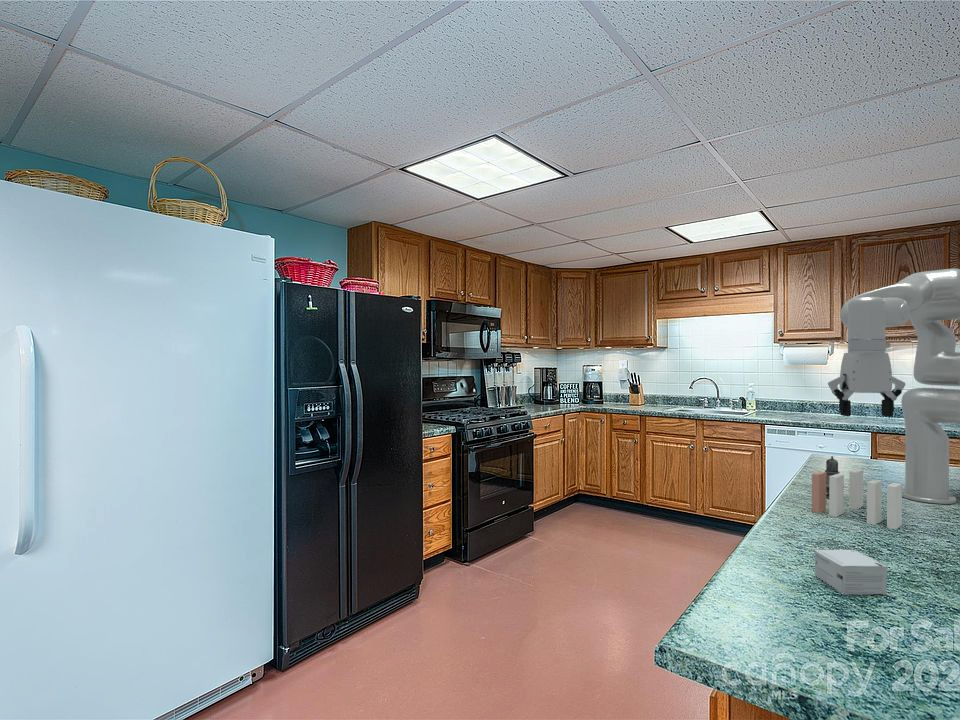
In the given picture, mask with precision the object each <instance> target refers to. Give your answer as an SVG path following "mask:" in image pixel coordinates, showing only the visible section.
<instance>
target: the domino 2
mask: <svg viewBox="0 0 960 720" xmlns="http://www.w3.org/2000/svg"><path fill="white" fill-rule="evenodd" d="M848 489H849V491H848V492H849V506H848V508H850V510H853V509H855V510H854V511H857V509H858V510H860V509H862V508H863V507H864V469H859V468H858V469H857V468H855V469H853V470H850V471H849V488H848ZM862 506H863V507H862ZM861 507H862V508H861ZM859 508H860V509H859Z"/></svg>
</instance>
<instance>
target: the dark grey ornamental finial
mask: <svg viewBox="0 0 960 720" xmlns="http://www.w3.org/2000/svg"><path fill="white" fill-rule="evenodd" d="M838 461H839V460H837V459H835V458H834V456H833V455H832V456H830V458H828V459H827V460H826V462H825V468H826V469H825V470H824V472H826V499H827V498H829V476H832V475H835V474H840V473H841V472H840V471H839V462H838Z"/></svg>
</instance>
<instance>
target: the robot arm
mask: <svg viewBox="0 0 960 720" xmlns="http://www.w3.org/2000/svg"><path fill="white" fill-rule="evenodd" d="M839 318H840V321H841V323H842V325H843V326H845V327H846V328H847V352H844V353H843V354H842V359H841V365H840V370H839V371H840V372H839V376H838V377H836V378H834V379H832V380H830V381H828V382H827V385H828V387H829V390H831V393H832V394H833V395H834V396H835V397H836V399H837V400H838V401H839V403H838V407H839V408H838V409H839V415H840V416H843V417H851V414H852V412H851V411H852V409H851V407H852V406H851V404H852V402H851V400H849V398H851V396H852V395H853V394H855V393H856V394H859V393H860V394H861V393H863V394H867V393H868V394H880V395H881V396H882V399H881V416H882V417H883V416H884V417H889V418H893V416H894V412H895V401H896V400H897V398H898V397H899V396H900V395H901V394H902V392H903V390H904V388H905V386H906V385H907V383H906V382H904V381H902V379H901V380H900V379H898V378H896V377H894V376H893V371H892V364H891V359H890V355H889V353H888V352H886V351H887V349H889V348H890V347H891V342H887V339H886V328H897V327H901V326H903V325H904V324H906V323H907V321H909V320H910V322H911V324H912V326H913V328H914V330H915V333H916V337H917V345H916V351H915V357H914V365H913V378H914V379H915V381H916V382H917V383H919V384H921V385H928V386H941V387H942V386H945V387H960V352H956V345H957V337H956V334H955V333H954V332H953V331H952V330H951V329H950V328H949V327H948V326H947V325H945V324H944V323H942V321H948V320H950V321H951V320H953V321H954V320H955V321H956V320H960V268H944V269H937V270H927V271H920V272H915V273H911V274H910V275H908V276H906V277H904V278H903V279H901V280H899V281H898V282H896V283H894V284H891V285H888V286H885V287H880V288H878V289H873V290H870V291H867V292H864V293H861V294H858V295H856V296H853V297H851V298H850V299H848V300H847V301H846V302H845V303H844V304H843V305H842V307H841V310H840V317H839ZM838 385H839V386H838ZM893 385H894V388H893ZM892 388H893V389H892ZM900 402H901V404H900V405H901V409H902V414H903V418H904V419H903V420H904V427H905V428H904V430H905V432H904V433H905V444H904V445H905V447H904V448H905V451H904V452H905V453H904V454H905V459H904V463H905V466H904V467H905V469H904V473H905V475H904V476H905V477H904V480H905V481H904V482H905V483H904V487H905V488H902V498H905V499H907V500H911V501H917V502H921V503H929V504H938V505H940V504H941V505H949V504H950V505H951V504H956V503H957V497H955V496H954V495H951V494H950V438H949V436H948V434H947V432H946V431H945V429H944V428H942V426H941V425H940V423H941V424H942V423H943V424H953V425H960V389H955V388H954V389H953V388H936V387H934V388H933V387H918V388H917V387H916V388H911V389H909V390H907V391H906V392H904V393H903V395H902V396H901V401H900Z"/></svg>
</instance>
